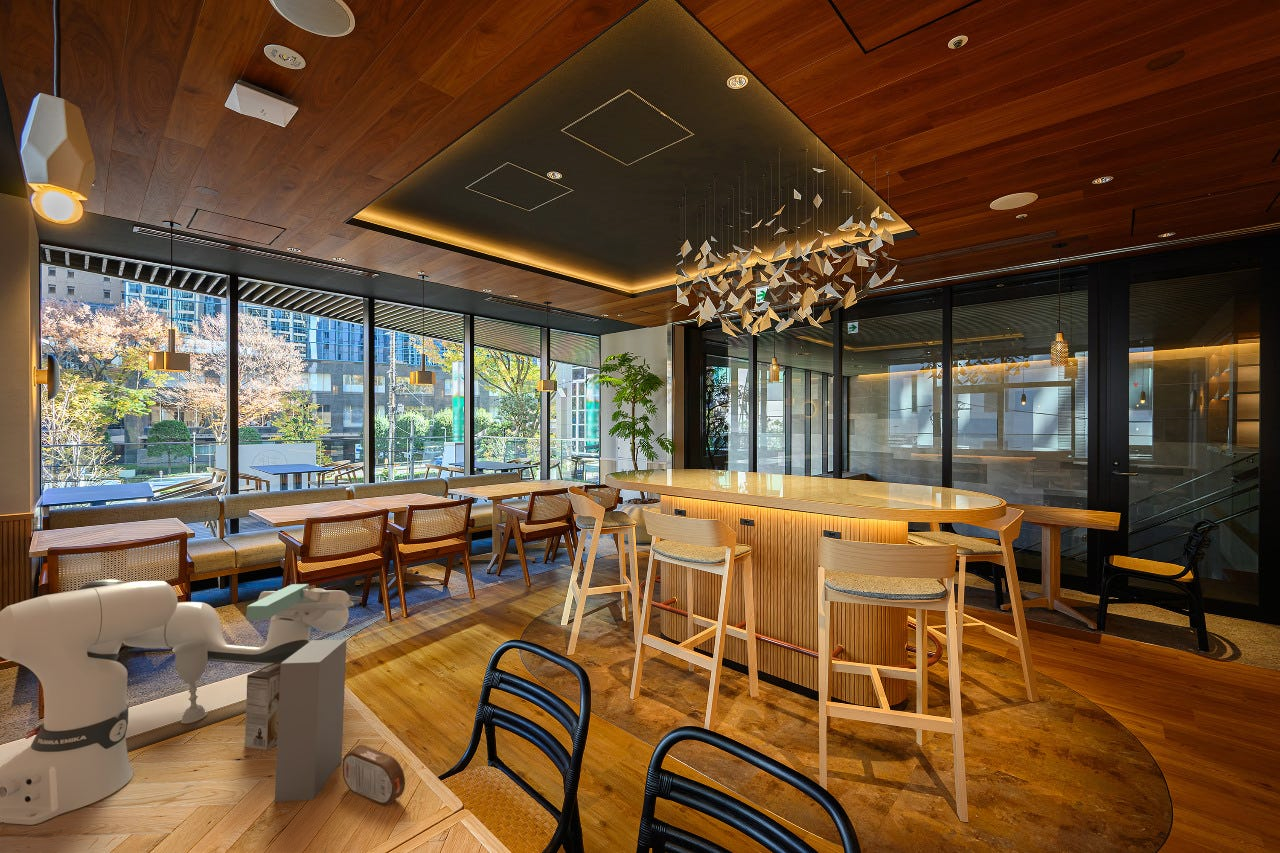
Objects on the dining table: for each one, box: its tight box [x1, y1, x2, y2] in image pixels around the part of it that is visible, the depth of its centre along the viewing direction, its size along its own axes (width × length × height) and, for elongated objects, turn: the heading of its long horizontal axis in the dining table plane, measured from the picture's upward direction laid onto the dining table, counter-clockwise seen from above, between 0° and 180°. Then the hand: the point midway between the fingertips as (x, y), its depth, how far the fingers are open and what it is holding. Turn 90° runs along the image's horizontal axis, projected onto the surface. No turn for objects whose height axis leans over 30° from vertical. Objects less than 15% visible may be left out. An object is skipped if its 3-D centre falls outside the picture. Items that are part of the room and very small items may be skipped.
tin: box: [342, 744, 406, 806], centre depth 101 cm, size 15×3×8 cm, turn 65°
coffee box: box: [244, 660, 285, 751], centre depth 120 cm, size 9×6×16 cm
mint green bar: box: [245, 583, 310, 621], centre depth 121 cm, size 4×18×3 cm, turn 7°
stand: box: [273, 638, 347, 803], centre depth 106 cm, size 7×12×26 cm, turn 7°
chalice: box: [171, 639, 210, 724], centre depth 128 cm, size 7×7×18 cm
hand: (291, 592), depth 127 cm, fingers closed on mint green bar, 4 cm apart
